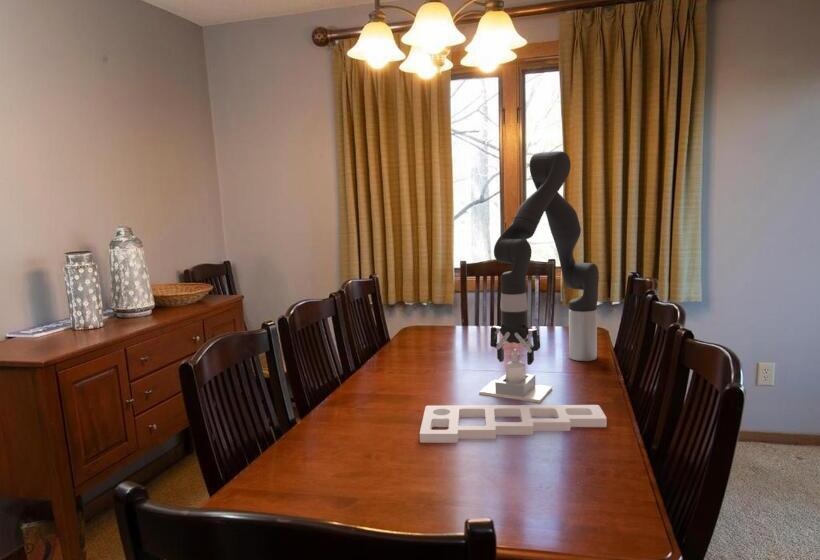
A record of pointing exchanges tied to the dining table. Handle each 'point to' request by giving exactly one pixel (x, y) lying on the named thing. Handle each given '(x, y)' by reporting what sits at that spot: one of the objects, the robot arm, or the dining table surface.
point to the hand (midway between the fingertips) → (515, 362)
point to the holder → (527, 426)
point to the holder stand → (517, 389)
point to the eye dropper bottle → (515, 369)
